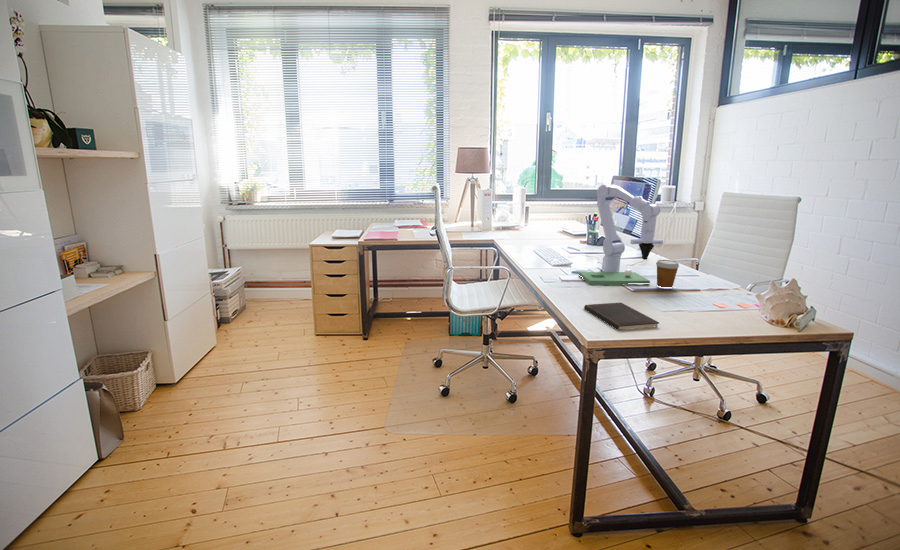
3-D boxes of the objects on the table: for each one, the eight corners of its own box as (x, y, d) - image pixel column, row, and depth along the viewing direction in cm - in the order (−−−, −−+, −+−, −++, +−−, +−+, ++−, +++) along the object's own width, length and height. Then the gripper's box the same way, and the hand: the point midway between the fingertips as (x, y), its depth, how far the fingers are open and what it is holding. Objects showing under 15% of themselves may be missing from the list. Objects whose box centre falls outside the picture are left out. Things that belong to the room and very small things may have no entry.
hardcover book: (620, 307, 187) (621, 302, 186) (658, 328, 165) (659, 322, 165) (583, 310, 183) (584, 304, 183) (617, 332, 162) (618, 325, 161)
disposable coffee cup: (679, 290, 210) (683, 264, 207) (658, 290, 210) (661, 263, 207) (670, 285, 219) (674, 259, 216) (649, 284, 219) (652, 259, 216)
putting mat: (578, 276, 232) (579, 272, 232) (634, 276, 234) (635, 272, 233) (589, 284, 217) (590, 280, 216) (649, 285, 218) (650, 280, 218)
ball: (622, 275, 227) (623, 268, 226) (630, 275, 227) (630, 268, 226) (625, 277, 223) (626, 270, 223) (633, 277, 224) (634, 270, 223)
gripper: (636, 231, 216) (633, 261, 219) (667, 232, 217) (663, 261, 220) (630, 229, 223) (626, 257, 226) (660, 229, 223) (656, 257, 227)
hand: (644, 259), depth 223 cm, fingers closed
